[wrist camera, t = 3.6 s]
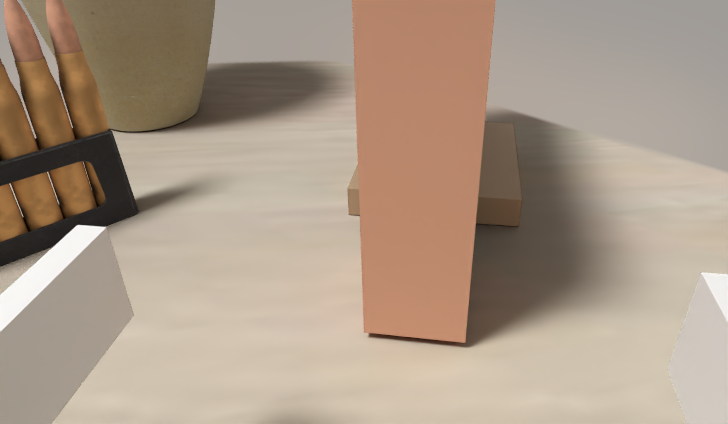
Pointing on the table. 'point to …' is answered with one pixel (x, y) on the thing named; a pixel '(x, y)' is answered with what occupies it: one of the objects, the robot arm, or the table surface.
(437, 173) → the stub
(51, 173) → the ammunition clip
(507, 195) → the ticket block
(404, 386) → the table surface
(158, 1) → the plant pot
